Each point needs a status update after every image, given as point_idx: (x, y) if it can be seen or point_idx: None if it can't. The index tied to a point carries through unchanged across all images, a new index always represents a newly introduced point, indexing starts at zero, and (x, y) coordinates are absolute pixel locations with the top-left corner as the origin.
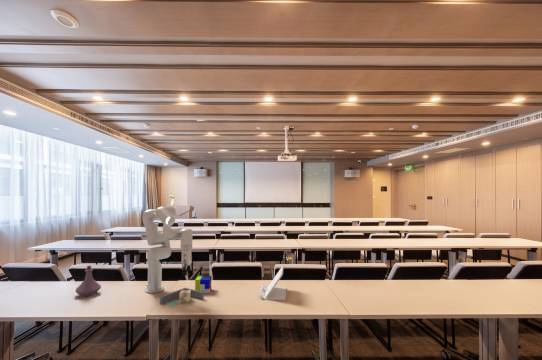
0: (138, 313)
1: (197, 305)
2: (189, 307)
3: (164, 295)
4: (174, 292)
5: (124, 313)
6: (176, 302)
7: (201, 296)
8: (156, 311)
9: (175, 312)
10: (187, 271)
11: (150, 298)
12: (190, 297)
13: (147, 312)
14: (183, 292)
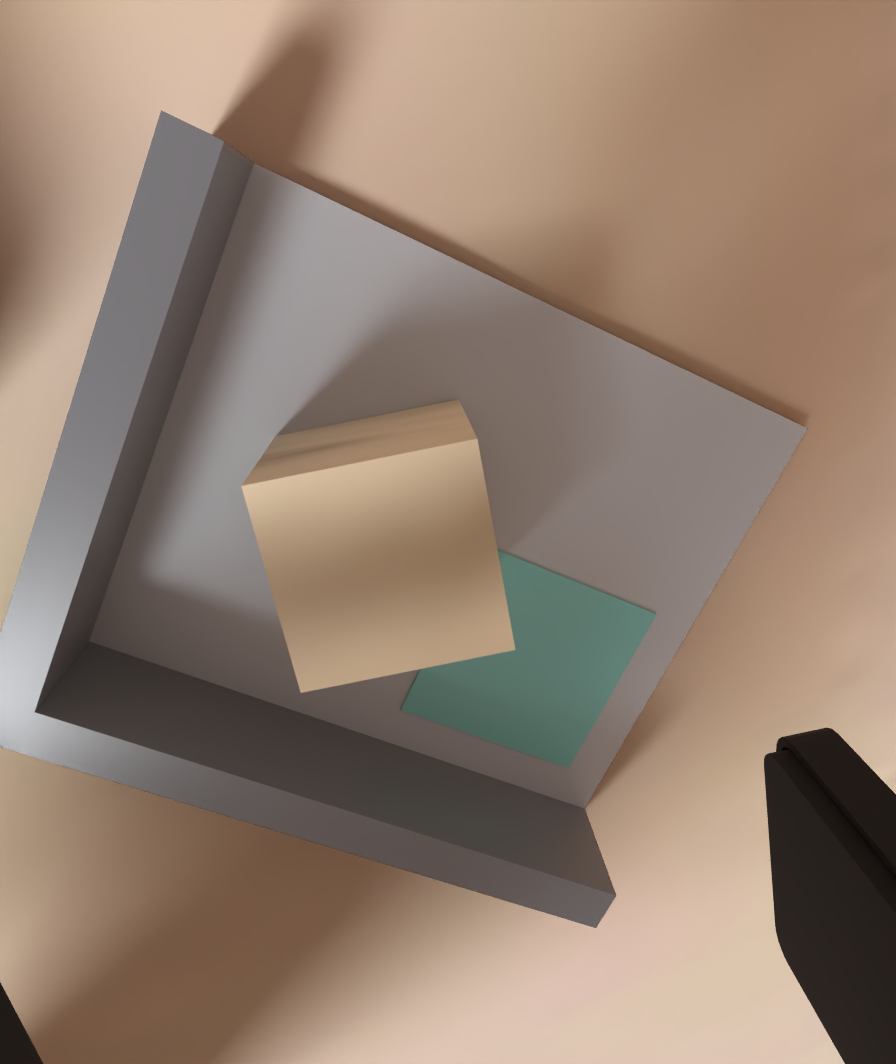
0: None
1: (552, 157)
2: (660, 289)
3: (525, 891)
4: (329, 805)
5: None
6: None
7: (236, 173)
8: None
9: (878, 447)
10: (8, 1011)
11: (337, 1060)
12: (286, 441)
13: None
14: (457, 584)
